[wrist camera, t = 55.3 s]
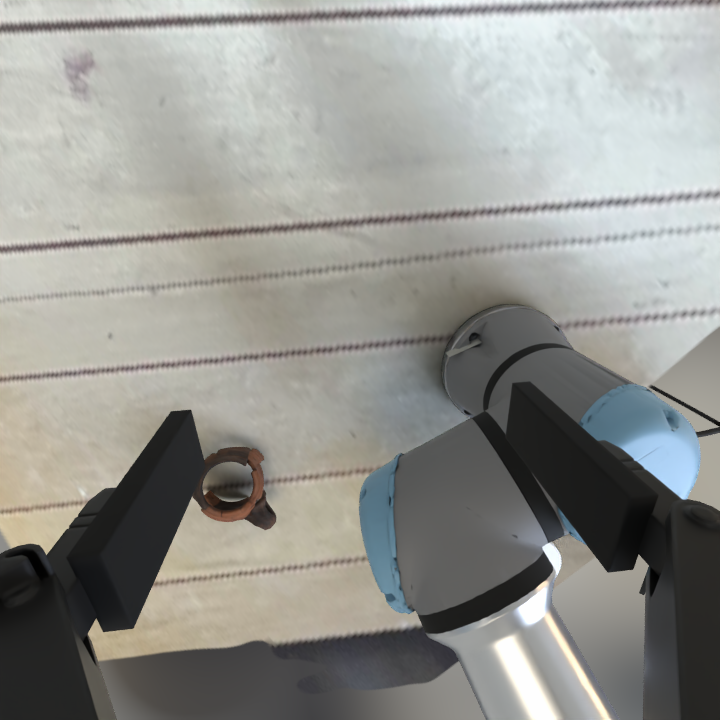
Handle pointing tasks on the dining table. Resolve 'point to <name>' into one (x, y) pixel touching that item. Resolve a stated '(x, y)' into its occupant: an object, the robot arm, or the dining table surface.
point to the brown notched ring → (248, 508)
